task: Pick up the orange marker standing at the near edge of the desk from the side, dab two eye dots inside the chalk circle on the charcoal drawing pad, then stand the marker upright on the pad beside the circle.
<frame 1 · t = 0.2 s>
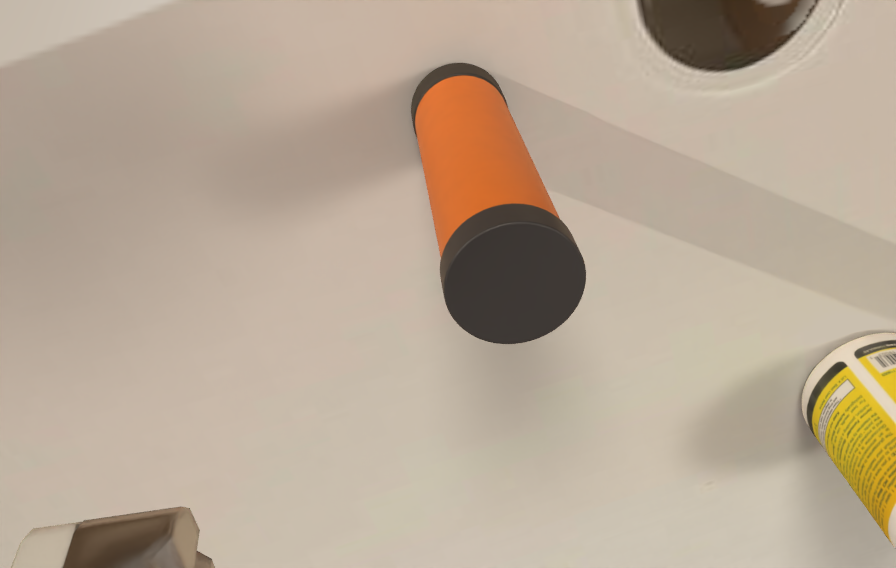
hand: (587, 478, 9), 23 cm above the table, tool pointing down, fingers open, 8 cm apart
pill bottle: (860, 379, 39), on the table
marker: (457, 108, 30), on the table
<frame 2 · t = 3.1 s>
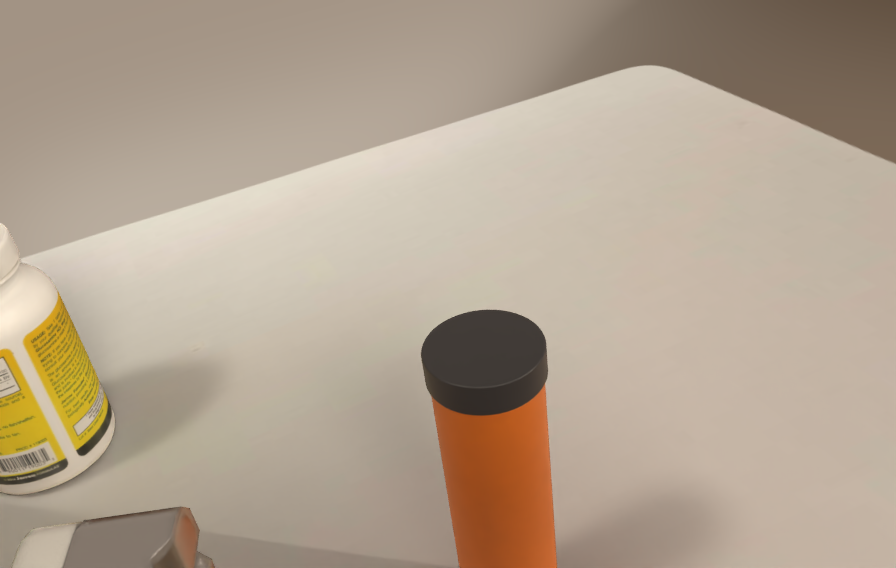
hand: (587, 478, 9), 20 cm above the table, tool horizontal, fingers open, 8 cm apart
pill bottle: (52, 452, 40), on the table
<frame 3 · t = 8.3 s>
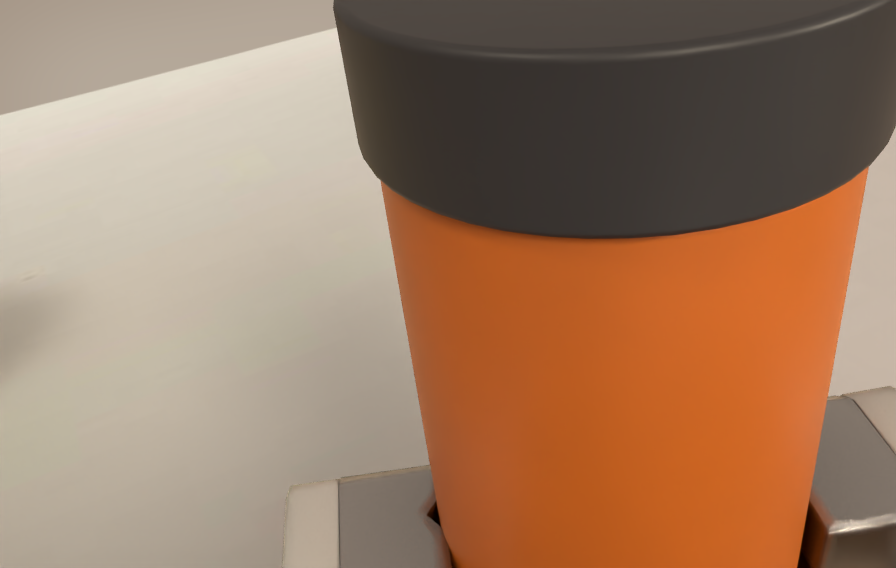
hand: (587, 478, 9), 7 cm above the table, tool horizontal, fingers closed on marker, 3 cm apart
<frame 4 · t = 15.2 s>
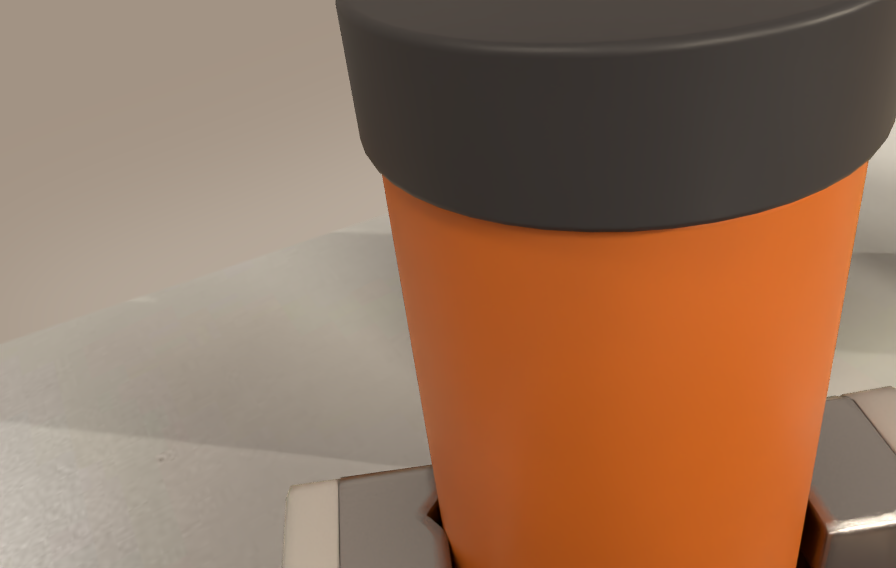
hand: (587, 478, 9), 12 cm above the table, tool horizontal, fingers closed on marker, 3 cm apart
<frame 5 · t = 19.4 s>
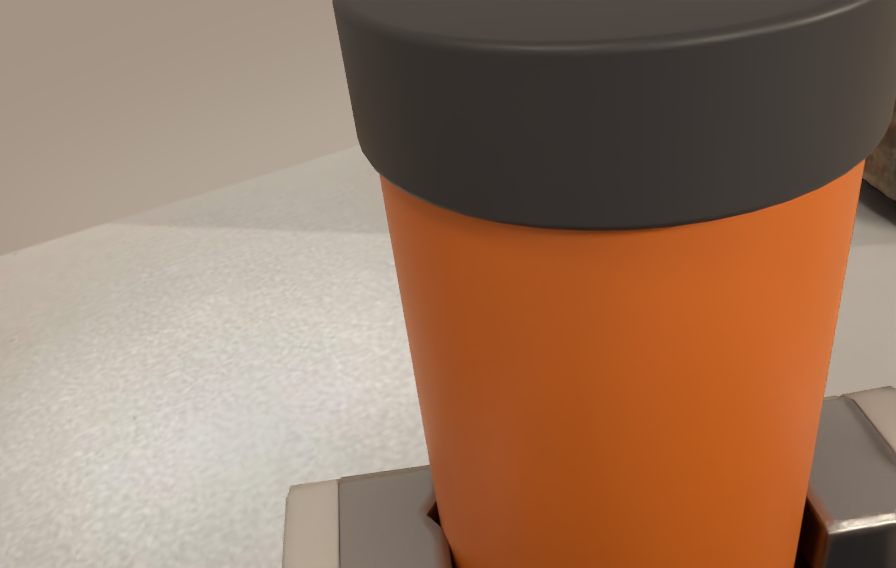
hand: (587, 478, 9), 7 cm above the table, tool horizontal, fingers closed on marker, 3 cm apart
when the fingers open (7 cm above the table, at t = 22.7 s): marker stays where it is, resting on pad.
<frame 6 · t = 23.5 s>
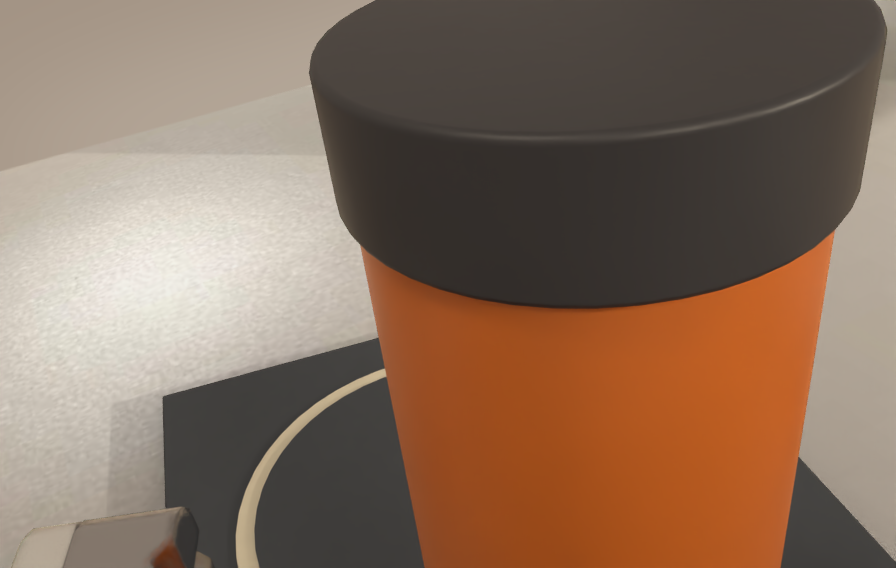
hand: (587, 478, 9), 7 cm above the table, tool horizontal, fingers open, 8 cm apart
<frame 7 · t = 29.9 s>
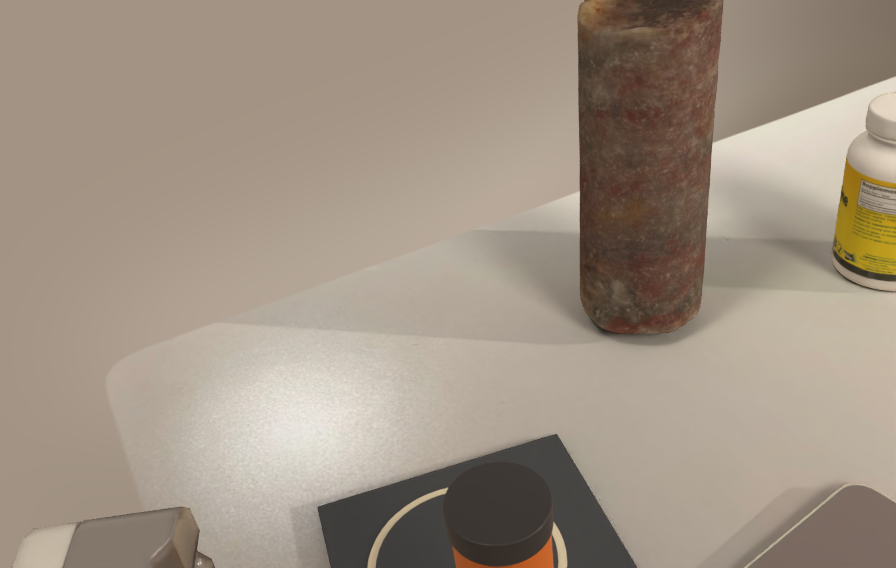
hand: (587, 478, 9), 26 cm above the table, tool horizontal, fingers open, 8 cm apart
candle: (640, 317, 54), on the table
pill bottle: (881, 269, 55), on the table
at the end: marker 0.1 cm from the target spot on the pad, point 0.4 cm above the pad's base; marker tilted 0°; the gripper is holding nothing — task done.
